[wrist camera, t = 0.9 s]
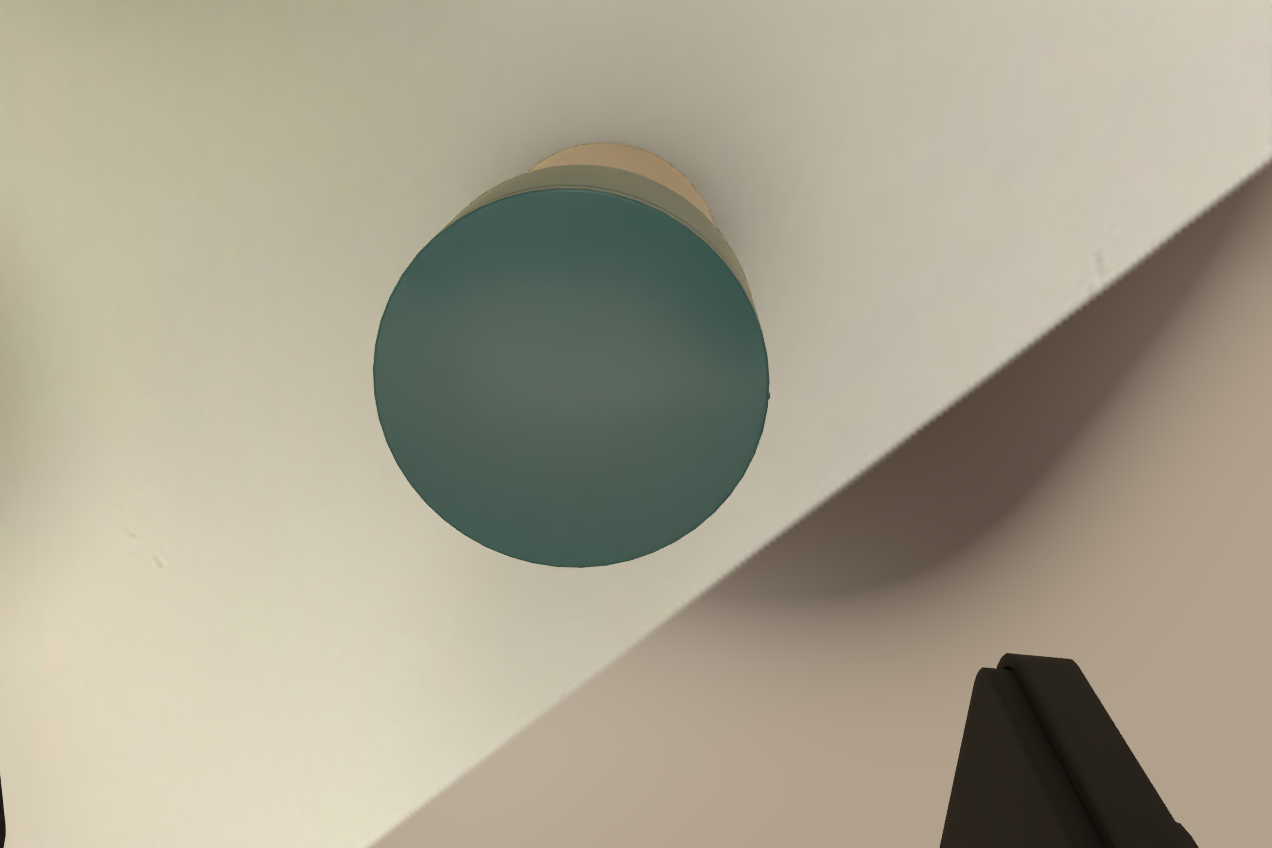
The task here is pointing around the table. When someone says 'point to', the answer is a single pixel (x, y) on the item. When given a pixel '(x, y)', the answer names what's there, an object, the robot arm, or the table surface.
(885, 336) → the table surface
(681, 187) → the jar
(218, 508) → the table surface
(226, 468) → the table surface
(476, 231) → the jar lid
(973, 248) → the table surface
